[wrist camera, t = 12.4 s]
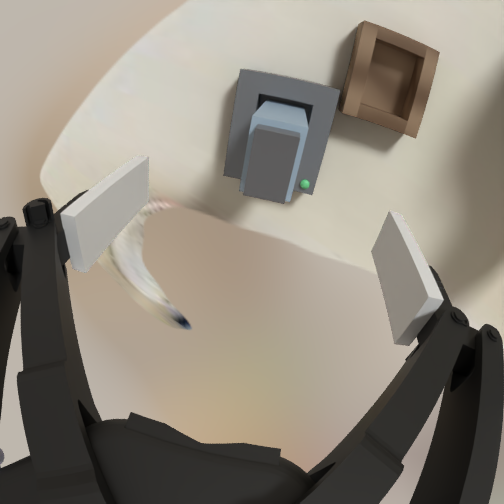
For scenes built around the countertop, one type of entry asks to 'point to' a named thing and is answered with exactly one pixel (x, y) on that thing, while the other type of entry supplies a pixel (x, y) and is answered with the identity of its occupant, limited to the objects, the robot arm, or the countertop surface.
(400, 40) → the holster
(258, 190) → the plug
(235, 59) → the countertop surface
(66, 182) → the countertop surface
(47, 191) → the countertop surface
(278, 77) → the port
